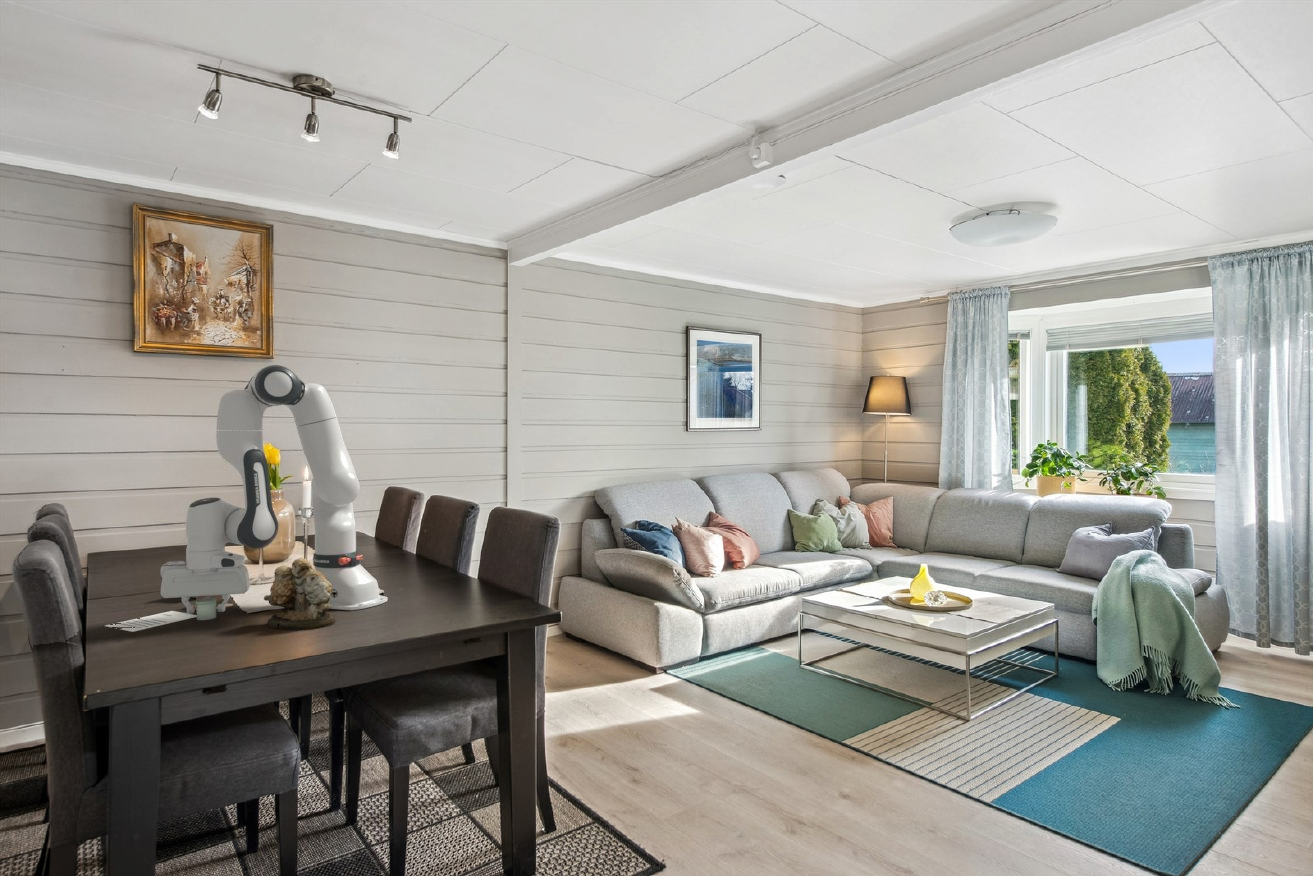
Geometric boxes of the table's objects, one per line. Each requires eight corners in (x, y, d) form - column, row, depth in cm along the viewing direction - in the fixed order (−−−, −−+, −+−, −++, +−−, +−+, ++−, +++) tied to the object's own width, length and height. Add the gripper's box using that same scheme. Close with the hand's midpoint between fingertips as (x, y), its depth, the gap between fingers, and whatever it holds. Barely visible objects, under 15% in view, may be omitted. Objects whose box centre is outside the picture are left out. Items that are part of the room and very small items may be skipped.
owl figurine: (252, 629, 191) (252, 562, 191) (278, 618, 203) (277, 554, 203) (322, 630, 190) (322, 562, 190) (344, 618, 202) (343, 554, 202)
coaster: (233, 606, 214) (233, 604, 214) (205, 612, 207) (205, 610, 207) (214, 603, 218) (214, 601, 218) (187, 609, 210) (187, 607, 210)
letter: (199, 617, 202) (199, 615, 202) (132, 633, 187) (132, 631, 187) (172, 611, 208) (172, 610, 208) (104, 626, 192) (104, 625, 192)
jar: (220, 618, 201) (220, 599, 201) (203, 622, 197) (203, 603, 197) (209, 616, 203) (209, 597, 203) (192, 620, 199) (192, 601, 199)
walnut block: (224, 605, 213) (223, 591, 213) (210, 608, 209) (210, 594, 209) (210, 603, 215) (210, 588, 215) (196, 606, 212) (196, 591, 212)
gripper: (156, 564, 194) (156, 618, 194) (245, 560, 200) (246, 612, 200) (164, 559, 200) (164, 612, 200) (250, 556, 206) (251, 606, 206)
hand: (206, 612), depth 200 cm, fingers open, 6 cm apart
